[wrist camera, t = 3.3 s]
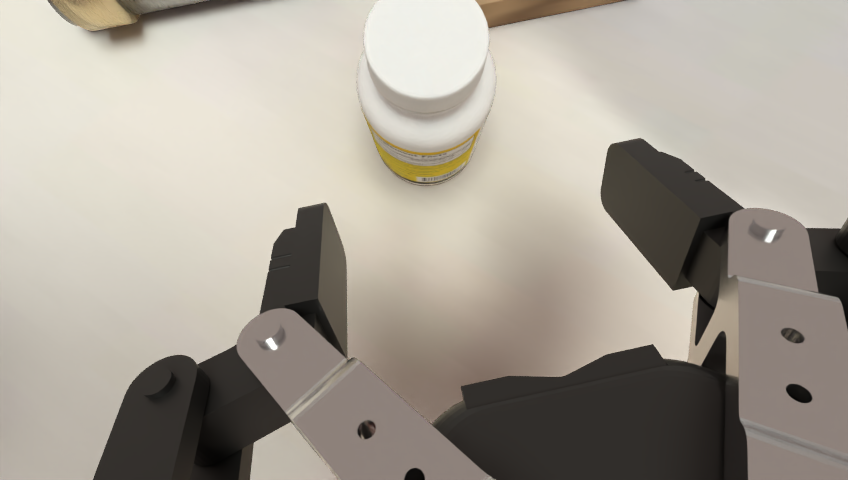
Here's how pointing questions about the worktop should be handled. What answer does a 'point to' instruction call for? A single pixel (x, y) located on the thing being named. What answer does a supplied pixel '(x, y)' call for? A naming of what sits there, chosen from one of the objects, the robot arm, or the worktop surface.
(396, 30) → the supplement bottle
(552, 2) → the collar block
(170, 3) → the shaft
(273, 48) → the worktop surface
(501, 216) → the worktop surface
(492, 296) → the worktop surface
